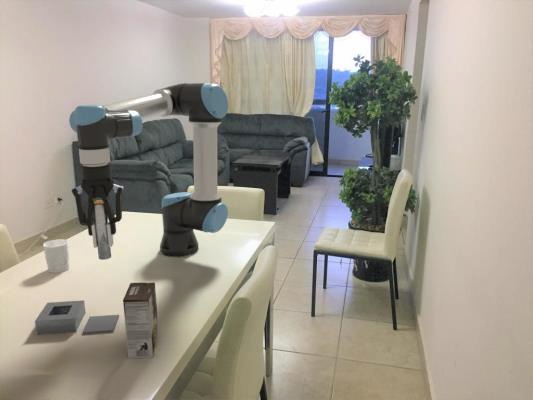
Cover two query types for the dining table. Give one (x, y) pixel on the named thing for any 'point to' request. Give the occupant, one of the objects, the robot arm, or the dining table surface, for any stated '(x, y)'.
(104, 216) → the grey long rod
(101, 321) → the mat
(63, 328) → the block
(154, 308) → the coffee box
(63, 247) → the white cup
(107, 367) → the dining table surface
